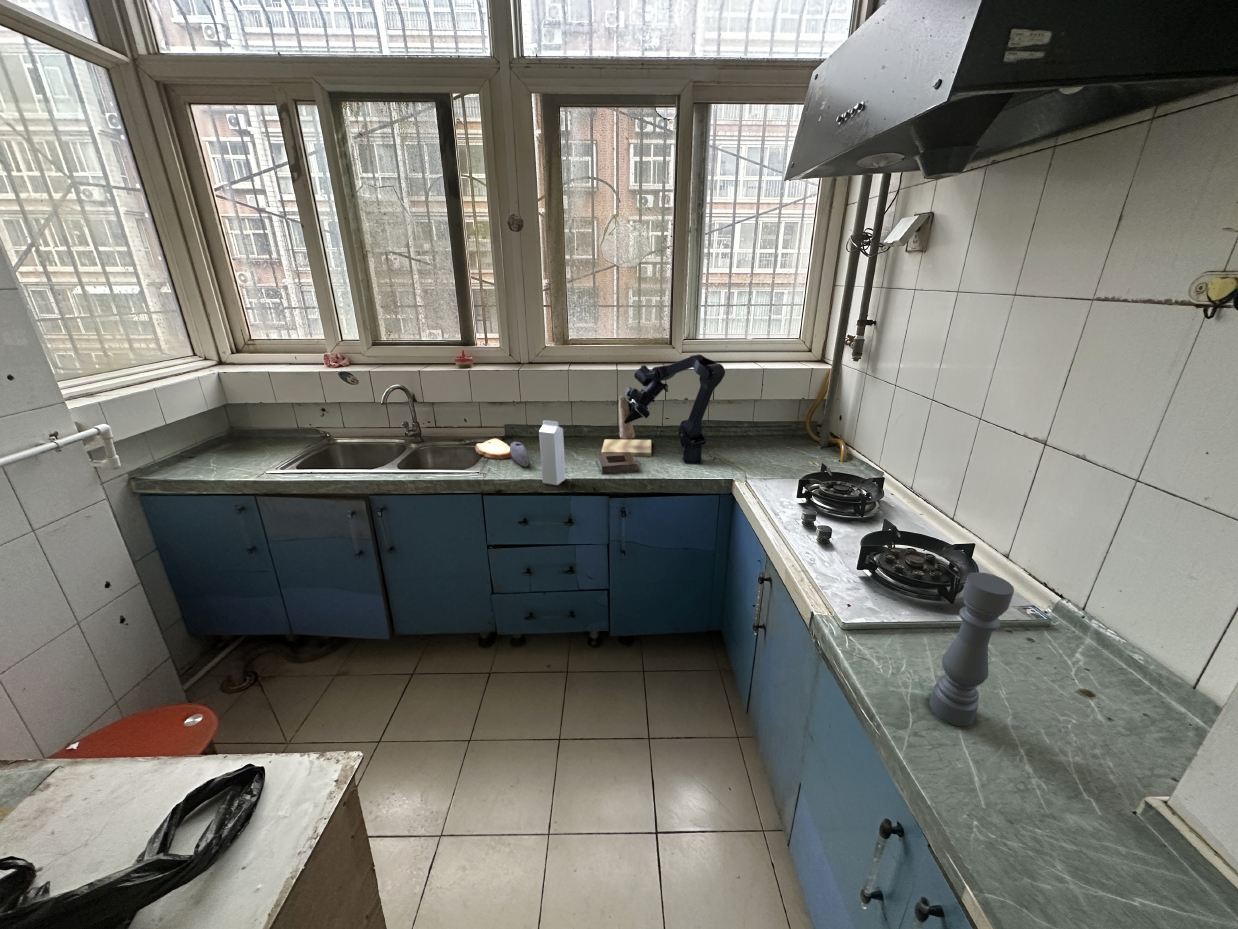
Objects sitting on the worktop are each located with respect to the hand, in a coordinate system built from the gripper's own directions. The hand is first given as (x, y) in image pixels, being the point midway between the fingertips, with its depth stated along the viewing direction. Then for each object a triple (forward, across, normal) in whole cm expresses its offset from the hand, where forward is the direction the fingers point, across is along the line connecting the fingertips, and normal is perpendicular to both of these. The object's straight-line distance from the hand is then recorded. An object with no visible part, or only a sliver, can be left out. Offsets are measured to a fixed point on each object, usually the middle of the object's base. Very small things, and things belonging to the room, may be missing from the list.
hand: (623, 421), depth 200 cm
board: (+8, -1, +10) cm, 13 cm away
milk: (+30, +27, -12) cm, 42 cm away
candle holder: (-11, +138, +30) cm, 142 cm away
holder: (+13, +18, +4) cm, 22 cm away
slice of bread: (+46, -9, -28) cm, 54 cm away
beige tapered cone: (+4, 0, +6) cm, 7 cm away
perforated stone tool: (+38, +7, -21) cm, 44 cm away
